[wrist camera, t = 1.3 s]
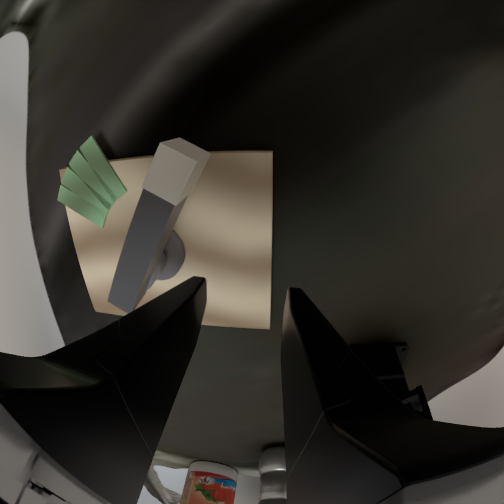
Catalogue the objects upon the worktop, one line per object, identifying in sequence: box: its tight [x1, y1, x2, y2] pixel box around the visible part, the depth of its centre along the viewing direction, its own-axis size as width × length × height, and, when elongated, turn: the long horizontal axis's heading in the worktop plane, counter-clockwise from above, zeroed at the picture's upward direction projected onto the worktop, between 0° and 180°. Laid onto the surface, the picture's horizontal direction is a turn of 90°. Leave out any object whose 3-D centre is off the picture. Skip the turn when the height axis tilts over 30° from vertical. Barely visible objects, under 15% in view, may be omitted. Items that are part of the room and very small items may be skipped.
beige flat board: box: [58, 135, 273, 329], centre depth 21 cm, size 16×18×2 cm
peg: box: [108, 138, 211, 313], centre depth 17 cm, size 11×2×4 cm, turn 151°
